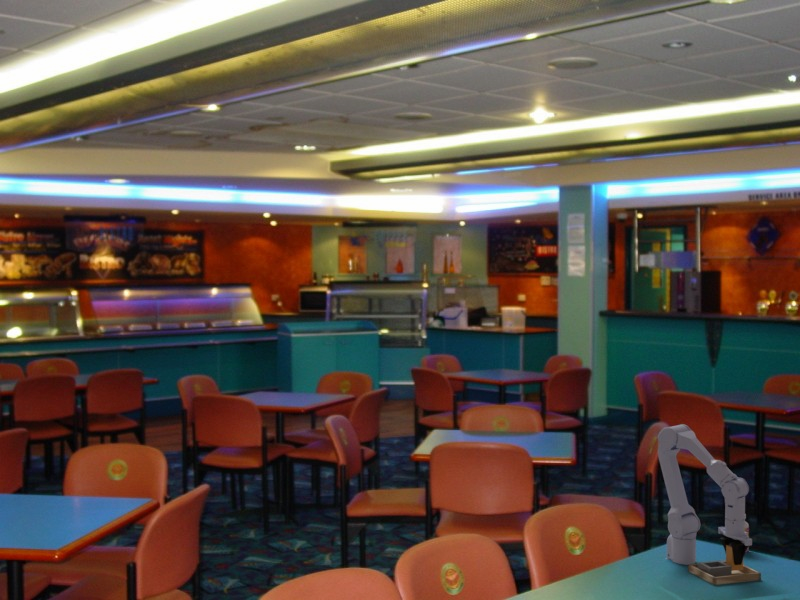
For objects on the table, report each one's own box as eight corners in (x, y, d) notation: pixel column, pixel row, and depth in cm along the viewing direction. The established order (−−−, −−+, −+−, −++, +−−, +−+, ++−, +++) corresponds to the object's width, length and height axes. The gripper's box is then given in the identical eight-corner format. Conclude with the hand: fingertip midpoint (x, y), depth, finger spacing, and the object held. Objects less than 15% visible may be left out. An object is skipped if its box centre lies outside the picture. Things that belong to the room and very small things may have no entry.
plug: (725, 567, 307) (726, 543, 307) (737, 566, 308) (737, 542, 308) (731, 570, 304) (732, 545, 304) (743, 569, 306) (743, 544, 305)
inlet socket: (698, 573, 306) (698, 562, 306) (719, 571, 309) (719, 560, 308) (710, 580, 300) (710, 568, 300) (731, 577, 302) (731, 566, 302)
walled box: (687, 574, 310) (687, 564, 309) (733, 569, 314) (733, 559, 314) (714, 588, 296) (714, 578, 296) (760, 583, 300) (760, 573, 300)
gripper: (761, 523, 300) (760, 568, 300) (732, 511, 314) (731, 554, 314) (740, 525, 298) (740, 570, 299) (712, 513, 312) (712, 556, 312)
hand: (734, 562), depth 306 cm, fingers closed on plug, 3 cm apart
